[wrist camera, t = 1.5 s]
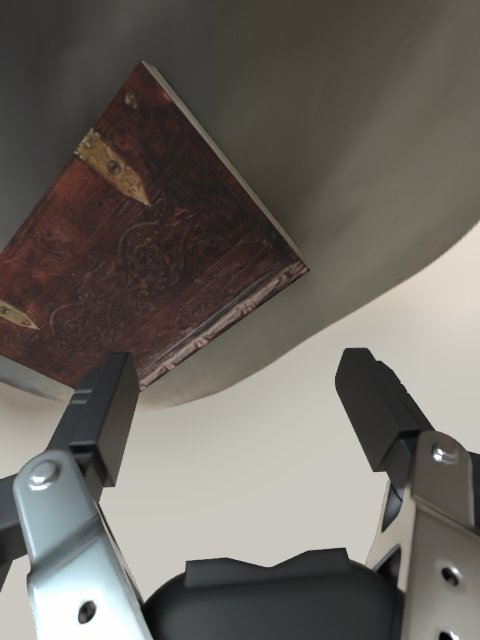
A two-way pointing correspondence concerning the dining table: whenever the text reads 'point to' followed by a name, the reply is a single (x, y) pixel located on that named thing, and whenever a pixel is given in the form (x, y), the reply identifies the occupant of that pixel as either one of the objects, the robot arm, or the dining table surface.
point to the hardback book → (139, 246)
